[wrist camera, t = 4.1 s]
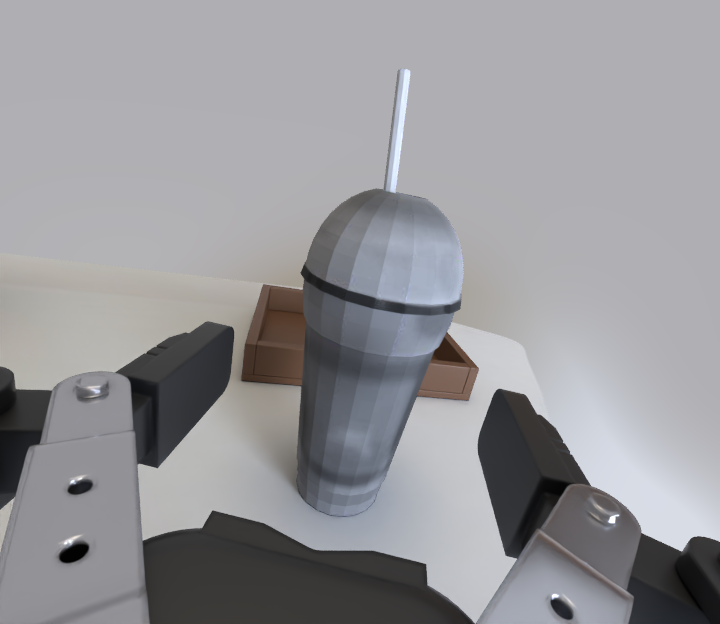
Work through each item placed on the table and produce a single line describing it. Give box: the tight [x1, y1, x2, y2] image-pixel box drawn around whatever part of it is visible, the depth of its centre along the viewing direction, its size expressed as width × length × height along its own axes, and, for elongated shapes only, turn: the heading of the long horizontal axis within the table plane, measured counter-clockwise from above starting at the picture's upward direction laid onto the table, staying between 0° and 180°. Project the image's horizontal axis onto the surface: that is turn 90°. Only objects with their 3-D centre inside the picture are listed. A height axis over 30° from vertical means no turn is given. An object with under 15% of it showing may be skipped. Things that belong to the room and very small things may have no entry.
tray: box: [242, 284, 479, 400], centre depth 36 cm, size 19×15×3 cm
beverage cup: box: [297, 69, 464, 517], centre depth 18 cm, size 7×7×20 cm
